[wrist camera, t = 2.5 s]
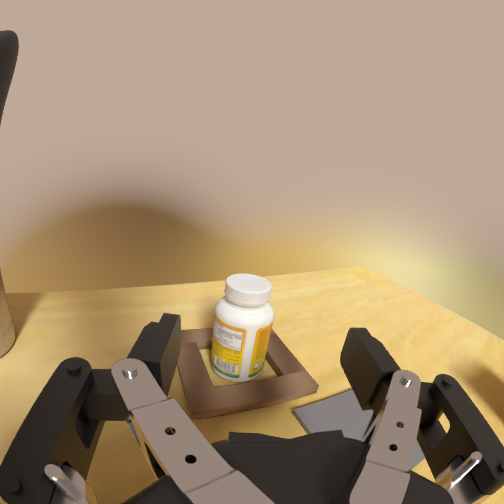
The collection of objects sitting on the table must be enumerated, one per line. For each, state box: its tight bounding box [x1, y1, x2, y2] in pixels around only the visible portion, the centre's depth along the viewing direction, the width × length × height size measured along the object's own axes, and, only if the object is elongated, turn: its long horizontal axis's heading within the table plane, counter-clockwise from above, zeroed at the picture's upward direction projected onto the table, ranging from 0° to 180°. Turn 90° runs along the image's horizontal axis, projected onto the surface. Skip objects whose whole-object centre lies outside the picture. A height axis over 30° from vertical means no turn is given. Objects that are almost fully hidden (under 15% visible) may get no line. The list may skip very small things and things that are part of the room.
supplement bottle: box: [211, 274, 274, 382], centre depth 25 cm, size 5×5×10 cm
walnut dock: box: [177, 328, 319, 419], centre depth 26 cm, size 12×12×1 cm
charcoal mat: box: [293, 389, 425, 470], centre depth 18 cm, size 11×11×1 cm
